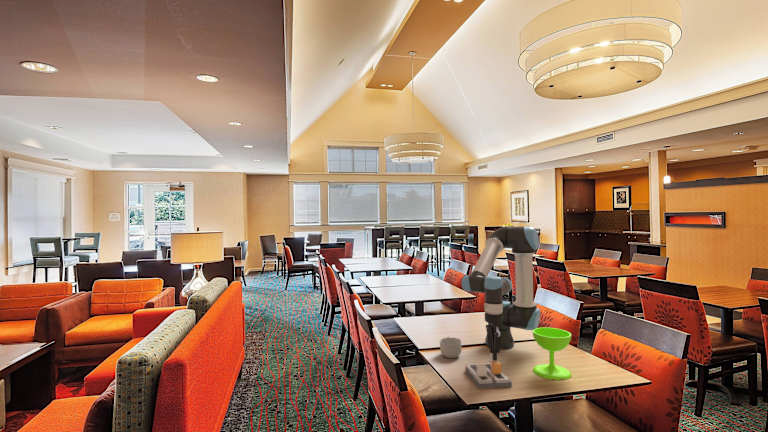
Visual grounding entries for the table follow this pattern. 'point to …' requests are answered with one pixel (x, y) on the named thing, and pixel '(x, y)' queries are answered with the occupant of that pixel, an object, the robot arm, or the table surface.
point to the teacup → (450, 347)
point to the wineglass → (551, 351)
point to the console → (487, 377)
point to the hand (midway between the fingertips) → (493, 366)
